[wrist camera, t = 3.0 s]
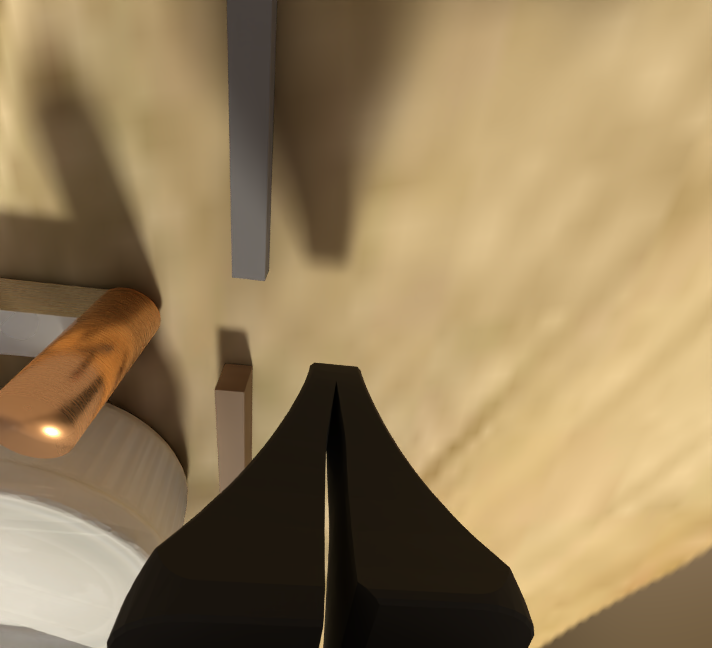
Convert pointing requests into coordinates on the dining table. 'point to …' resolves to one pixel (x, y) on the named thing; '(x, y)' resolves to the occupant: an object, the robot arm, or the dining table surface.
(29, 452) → the brown cylinder with bar
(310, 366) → the robot arm
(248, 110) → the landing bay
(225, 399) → the frame
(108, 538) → the ramekin
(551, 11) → the dining table surface
